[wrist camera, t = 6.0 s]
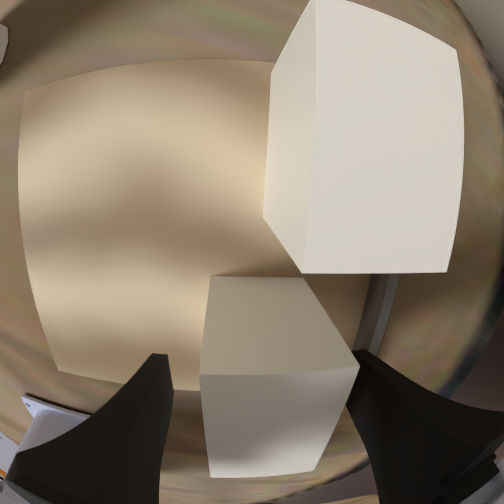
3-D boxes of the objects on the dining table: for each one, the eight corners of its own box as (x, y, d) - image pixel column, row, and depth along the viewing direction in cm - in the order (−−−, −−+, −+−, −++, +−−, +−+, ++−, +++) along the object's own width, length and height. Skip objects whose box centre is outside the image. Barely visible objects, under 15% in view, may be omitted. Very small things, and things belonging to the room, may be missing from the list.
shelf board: (345, 374, 15) (358, 399, 13) (63, 362, 13) (49, 385, 11) (389, 94, 10) (416, 84, 8) (33, 93, 9) (7, 86, 6)
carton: (304, 277, 12) (362, 365, 6) (288, 378, 14) (314, 470, 8) (210, 275, 12) (198, 374, 6) (212, 379, 13) (210, 477, 8)
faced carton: (363, 89, 10) (457, 51, 4) (355, 222, 11) (447, 272, 6) (270, 72, 9) (314, -8, 3) (262, 217, 11) (302, 273, 5)
